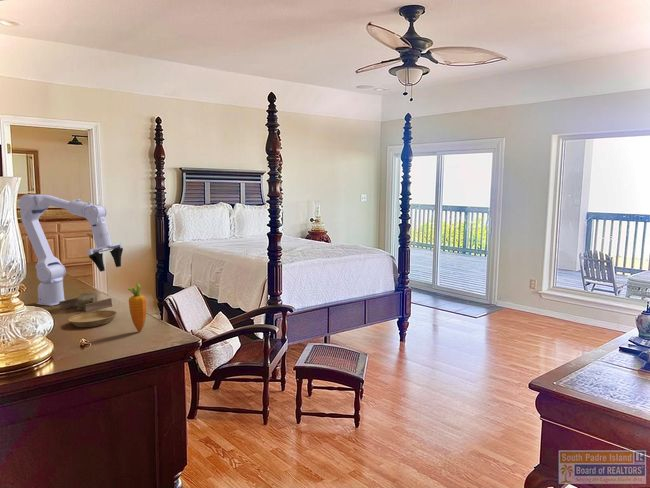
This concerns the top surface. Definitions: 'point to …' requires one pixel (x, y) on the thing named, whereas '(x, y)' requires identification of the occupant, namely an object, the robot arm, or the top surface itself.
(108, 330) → the top surface
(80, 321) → the plant saucer
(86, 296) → the stone block
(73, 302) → the chute
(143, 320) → the carrot
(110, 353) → the top surface
